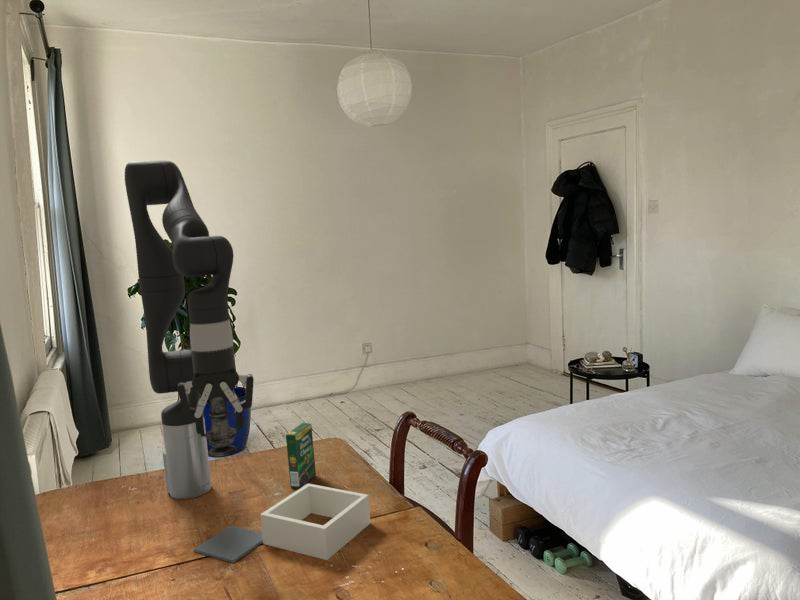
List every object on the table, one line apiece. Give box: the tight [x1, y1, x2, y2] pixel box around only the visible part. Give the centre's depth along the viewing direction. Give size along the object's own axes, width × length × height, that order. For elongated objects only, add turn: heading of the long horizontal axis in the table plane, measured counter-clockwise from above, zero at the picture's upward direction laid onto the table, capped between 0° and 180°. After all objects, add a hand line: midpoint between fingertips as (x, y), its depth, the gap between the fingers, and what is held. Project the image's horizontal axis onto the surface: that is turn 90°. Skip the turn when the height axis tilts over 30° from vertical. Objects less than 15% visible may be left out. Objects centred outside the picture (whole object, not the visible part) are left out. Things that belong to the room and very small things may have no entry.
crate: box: [260, 483, 371, 561], centre depth 126 cm, size 15×15×6 cm
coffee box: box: [285, 422, 317, 490], centre depth 151 cm, size 8×3×13 cm, turn 159°
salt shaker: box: [205, 397, 238, 457], centre depth 121 cm, size 6×6×12 cm
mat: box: [193, 525, 263, 564], centre depth 124 cm, size 10×10×1 cm
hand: (220, 432), depth 121 cm, fingers closed on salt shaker, 6 cm apart
